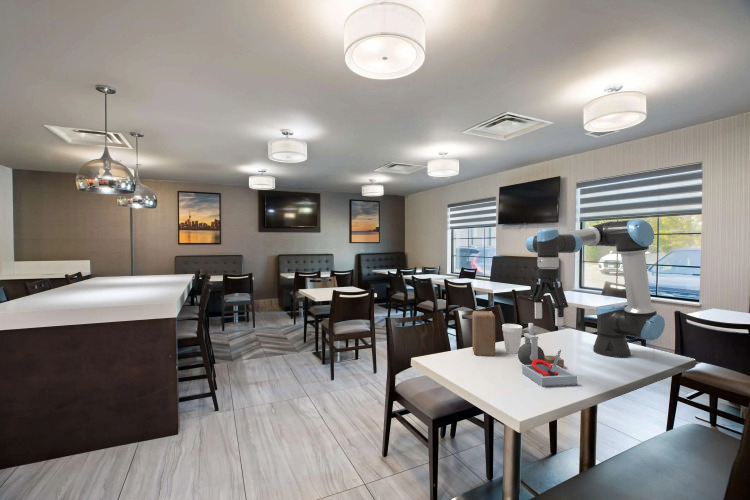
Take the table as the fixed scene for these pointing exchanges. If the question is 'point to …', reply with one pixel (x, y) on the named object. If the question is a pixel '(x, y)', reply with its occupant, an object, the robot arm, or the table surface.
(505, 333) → the foam cup
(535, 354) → the trolley wheel
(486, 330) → the wooden block
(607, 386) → the table surface
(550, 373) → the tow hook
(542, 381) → the tray
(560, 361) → the block
